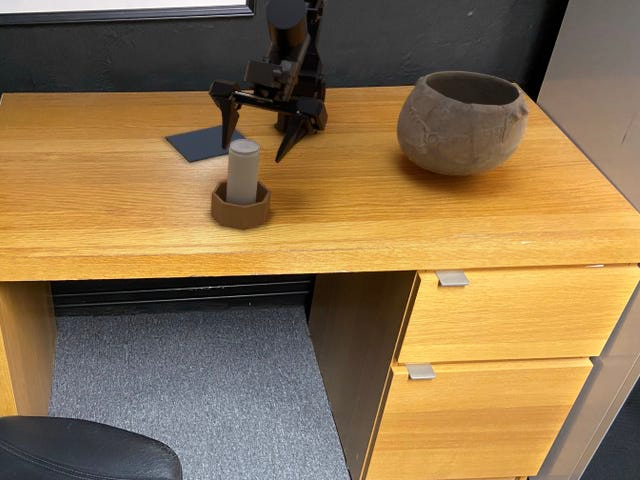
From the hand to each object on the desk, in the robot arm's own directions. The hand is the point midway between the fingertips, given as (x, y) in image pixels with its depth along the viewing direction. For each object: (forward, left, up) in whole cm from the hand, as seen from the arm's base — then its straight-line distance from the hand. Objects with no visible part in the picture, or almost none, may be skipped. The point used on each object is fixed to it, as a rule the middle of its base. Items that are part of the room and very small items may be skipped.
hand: (249, 155), depth 110 cm
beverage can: (+2, +1, -10) cm, 10 cm away
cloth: (-5, -24, -9) cm, 26 cm away
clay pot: (-40, +3, -10) cm, 42 cm away
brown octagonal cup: (+2, +1, -9) cm, 10 cm away
